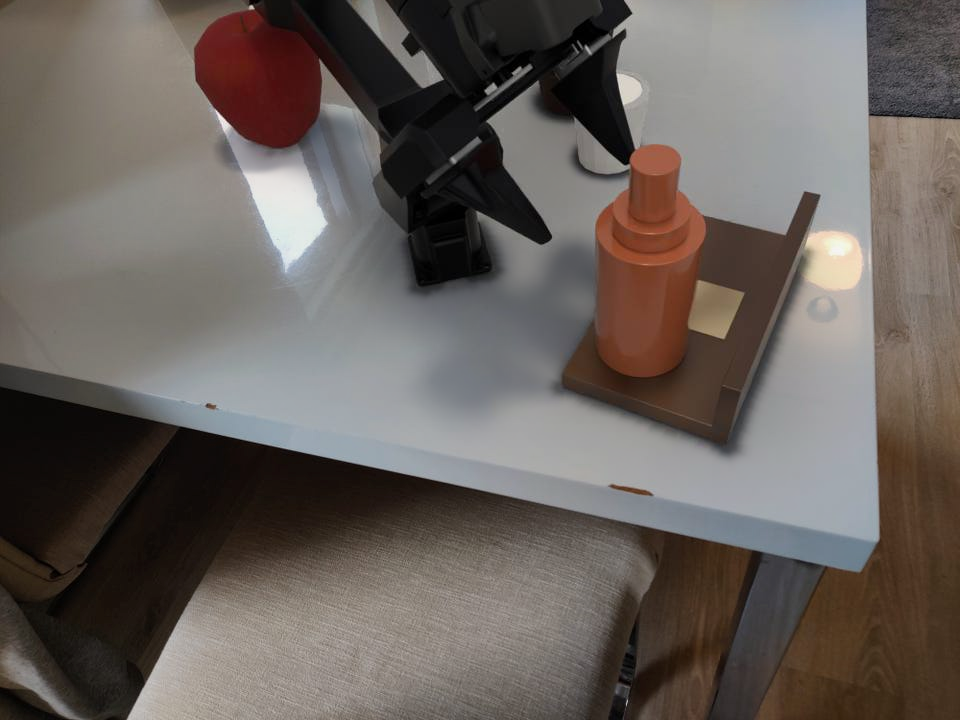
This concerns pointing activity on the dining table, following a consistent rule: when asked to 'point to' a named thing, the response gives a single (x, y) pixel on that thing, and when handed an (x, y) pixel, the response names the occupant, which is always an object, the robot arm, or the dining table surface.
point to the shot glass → (635, 108)
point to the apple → (259, 78)
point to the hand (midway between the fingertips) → (591, 200)
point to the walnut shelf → (711, 331)
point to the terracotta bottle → (647, 268)
